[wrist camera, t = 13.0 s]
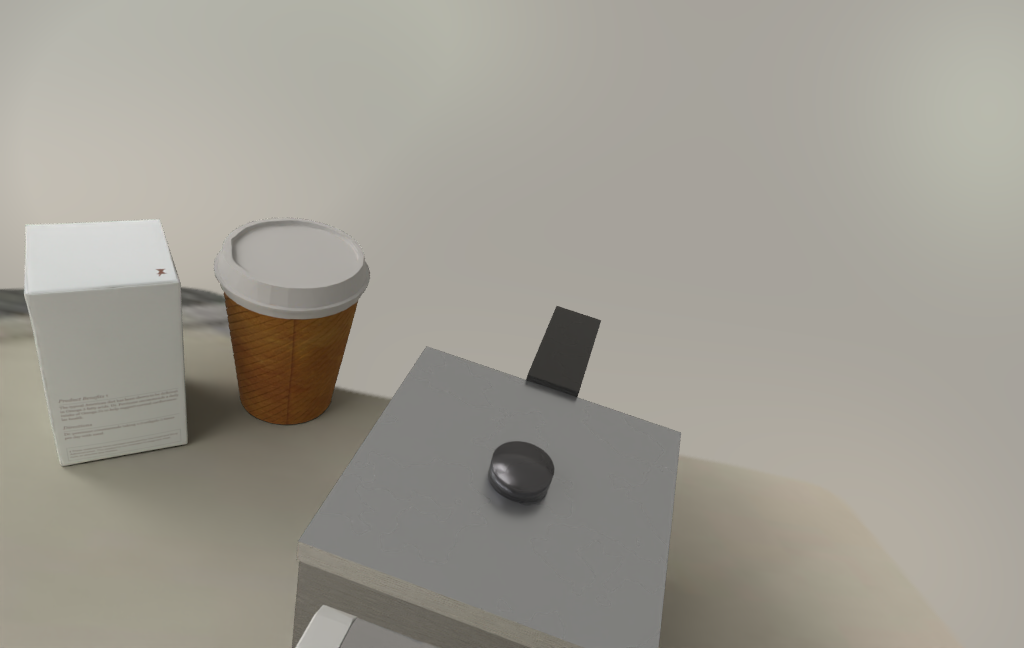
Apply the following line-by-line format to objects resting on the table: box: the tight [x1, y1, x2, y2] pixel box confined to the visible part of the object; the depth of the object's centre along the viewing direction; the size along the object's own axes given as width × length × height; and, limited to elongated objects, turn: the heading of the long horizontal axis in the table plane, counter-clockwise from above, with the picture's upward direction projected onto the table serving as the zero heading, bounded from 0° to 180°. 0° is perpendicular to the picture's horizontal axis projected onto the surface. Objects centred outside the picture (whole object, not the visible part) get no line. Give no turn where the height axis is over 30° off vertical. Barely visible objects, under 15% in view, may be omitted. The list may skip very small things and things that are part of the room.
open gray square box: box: [292, 561, 530, 648], centre depth 40 cm, size 15×15×10 cm
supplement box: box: [24, 219, 188, 466], centre depth 45 cm, size 7×7×13 cm
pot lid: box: [297, 306, 681, 648], centre depth 39 cm, size 15×23×2 cm, turn 165°
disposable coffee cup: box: [214, 218, 370, 425], centre depth 50 cm, size 10×10×12 cm
